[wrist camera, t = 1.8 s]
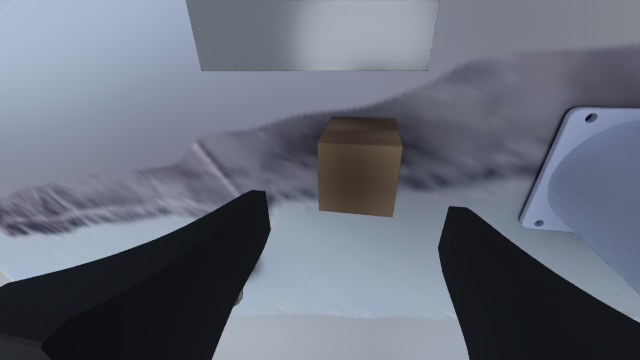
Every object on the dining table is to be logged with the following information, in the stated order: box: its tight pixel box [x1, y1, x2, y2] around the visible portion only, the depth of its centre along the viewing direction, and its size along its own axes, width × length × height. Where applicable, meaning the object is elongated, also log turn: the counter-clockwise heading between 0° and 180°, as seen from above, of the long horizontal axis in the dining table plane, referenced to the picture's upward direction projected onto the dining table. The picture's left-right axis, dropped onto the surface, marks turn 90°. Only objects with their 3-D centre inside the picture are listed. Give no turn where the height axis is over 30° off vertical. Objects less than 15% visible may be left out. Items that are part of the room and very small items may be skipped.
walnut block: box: [317, 117, 403, 217], centre depth 15 cm, size 4×4×5 cm
